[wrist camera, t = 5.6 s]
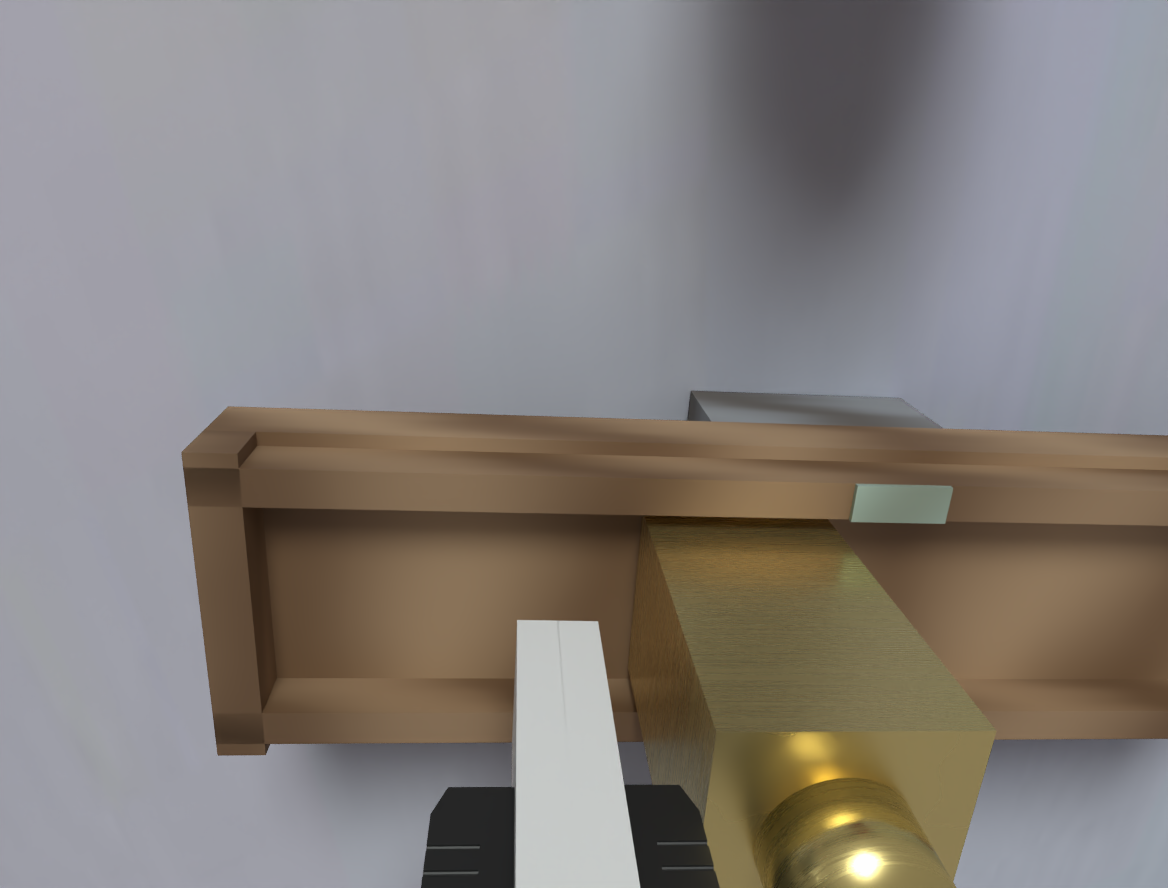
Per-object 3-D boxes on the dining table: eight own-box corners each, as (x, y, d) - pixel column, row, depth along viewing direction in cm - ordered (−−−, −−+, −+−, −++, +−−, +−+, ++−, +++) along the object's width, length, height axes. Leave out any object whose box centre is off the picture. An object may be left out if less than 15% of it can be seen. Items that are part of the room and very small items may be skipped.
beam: (294, 596, 24) (216, 764, 18) (277, 358, 22) (179, 454, 15) (1188, 605, 27) (1397, 754, 20) (1264, 394, 24) (1531, 489, 18)
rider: (627, 666, 19) (707, 1047, 11) (642, 509, 18) (744, 818, 10) (795, 667, 20) (987, 1035, 12) (823, 514, 18) (1062, 813, 10)
